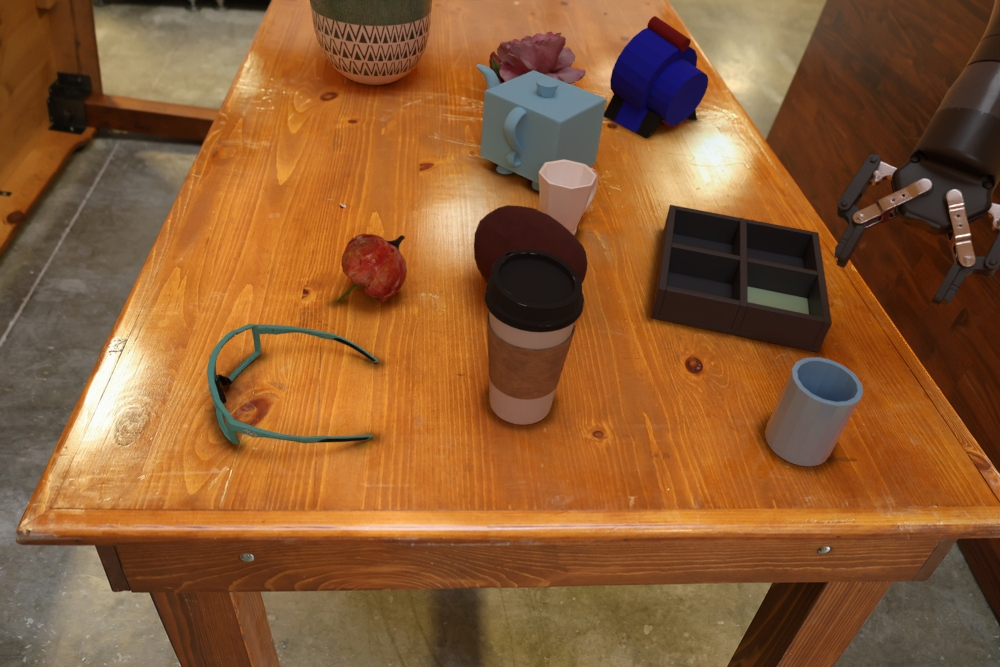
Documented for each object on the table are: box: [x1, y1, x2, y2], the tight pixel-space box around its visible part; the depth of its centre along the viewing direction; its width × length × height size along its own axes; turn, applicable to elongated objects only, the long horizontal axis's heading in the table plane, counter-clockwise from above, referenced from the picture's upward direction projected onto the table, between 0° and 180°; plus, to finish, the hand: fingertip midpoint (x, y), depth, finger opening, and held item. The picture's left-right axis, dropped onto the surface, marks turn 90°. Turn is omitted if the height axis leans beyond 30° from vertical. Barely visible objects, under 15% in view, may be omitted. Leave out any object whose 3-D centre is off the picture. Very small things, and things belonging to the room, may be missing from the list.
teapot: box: [476, 63, 607, 192], centre depth 105 cm, size 18×16×13 cm
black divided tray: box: [650, 204, 833, 353], centre depth 89 cm, size 18×18×4 cm
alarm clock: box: [604, 15, 709, 139], centre depth 118 cm, size 12×12×15 cm
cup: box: [538, 159, 599, 236], centre depth 95 cm, size 7×10×8 cm
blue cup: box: [764, 356, 864, 467], centre depth 70 cm, size 6×6×8 cm
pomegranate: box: [336, 233, 408, 303], centre depth 82 cm, size 7×7×10 cm
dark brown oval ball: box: [473, 204, 588, 284], centre depth 82 cm, size 11×13×10 cm
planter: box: [309, 0, 433, 86], centre depth 120 cm, size 20×20×21 cm
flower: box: [488, 31, 587, 84], centre depth 125 cm, size 15×15×10 cm
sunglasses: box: [206, 323, 380, 445], centre depth 70 cm, size 14×15×5 cm
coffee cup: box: [484, 249, 585, 426], centre depth 68 cm, size 8×8×15 cm
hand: (886, 284), depth 70 cm, fingers open, 8 cm apart
